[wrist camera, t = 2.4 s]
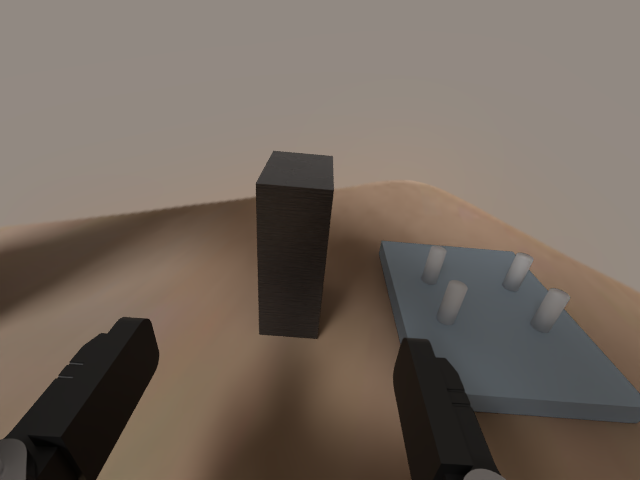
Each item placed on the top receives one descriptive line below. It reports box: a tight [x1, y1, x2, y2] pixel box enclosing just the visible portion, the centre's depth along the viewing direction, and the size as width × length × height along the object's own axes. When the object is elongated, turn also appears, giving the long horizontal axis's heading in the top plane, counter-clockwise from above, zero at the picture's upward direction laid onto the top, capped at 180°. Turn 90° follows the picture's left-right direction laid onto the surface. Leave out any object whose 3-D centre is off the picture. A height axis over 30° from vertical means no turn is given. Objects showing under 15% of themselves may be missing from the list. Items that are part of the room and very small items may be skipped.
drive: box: [256, 151, 334, 339], centre depth 22 cm, size 4×6×11 cm, turn 179°
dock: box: [379, 241, 640, 423], centre depth 24 cm, size 13×16×4 cm
